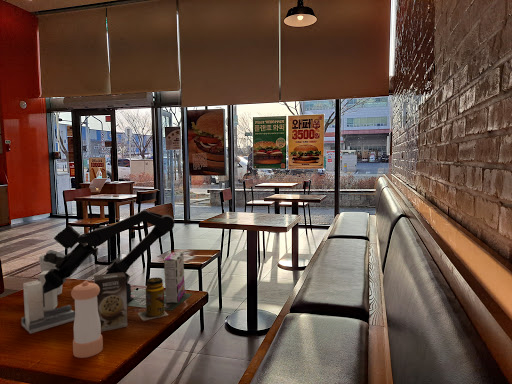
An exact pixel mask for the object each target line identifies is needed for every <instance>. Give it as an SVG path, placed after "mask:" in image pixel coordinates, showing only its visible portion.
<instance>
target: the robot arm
mask: <svg viewBox="0 0 512 384" xmlns="http://www.w3.org/2000/svg"><path fill="white" fill-rule="evenodd" d="M144 222H145V223H148V224H150V225H152V226H153V228H152V229H151V231H150V232H149V233H147V235H145V236H144V238H143V239H141V241H139V242H138V243H137V244H136V246H134V247H133V248H132V249H131V250H130V251H129V252H128V253H127V254H126V255H125V256H124V257H123V258H121V259H119V258H118V257H116V258H115V260H114V262H112V263H110V264H109V265H108V267H107V268H106V272H105V274H111V273H119V272H124V274H125V276H126V295H127V303H129V302H131V301H133V300H134V297H133V296H132V289H131V288H132V285H131V284H130V283H129V281H130V278H131V275H130V274H128V273H127V272H128V271H129V269H130V268H131V266H132V265H133V264H134V263H135V262H136V261H137V260H138V259H139V258H140V257H141V256H142V255H144V253H145V252H146V251H147V250H148V249H149V248H150V247H152V245H153V244H154V243H155V242H156V241H157V240H158V239H160V238H162V237H163V236H165V235H167V234H168V233H169V232H171V231H173V229H174V228H175V227H174V226H175V220H174V217H173V216H172V215H170V214H163V215H162V214H159V213H156V212H153V211H150V210H147V209H143V210H141V211H140V212H139V211H138V212H137V213H135V214H133V215H131V216H129V217H126V218H124V219H122V220H120V221H118V222H115V223H113V224H111V225H105V226H102V227H101V226H100V227H98V228H95V229H93V230H92V231H90V232H86V233H85V232H84V233H80V232H78V231H77V230H76V229H75V228H73V226H72V225H70V224H69V225H67V226H66V227H65V228H64V229H62V230H61V231H60V232H58V233H57V234H56V235H55V236H54V237H53V240H54V241H55V242H57V243H58V244H60V246H62V247H63V248H64V249H65V250H67V249H68V250H69V249H72V250H71V251H69V252H68V253H67V254H65V253H62V252H59V251H56V250H54V249H49V250H47V251H46V253H45V254H44V255H45V256H44V259H43V260H44V261H45V262H50V263H53V264H56V265H55V267H56V268H57V269H51V270H50V271H49V272H48V273H47V274H46V275H45V276H44V277H45V280H46V282H45V284H44V285H43V288H44V294H45V293H47V292H49V291H51V290H54V289H56V288H59V287H60V286H61V285H62V286H63V285H64V283H65V282H67V279H68V278H69V277H72V276H71V275H73V274H74V273H75V272H76V271H77V270H78V268H80V266H81V265H82V264H83V263H84V262H85V261H86V260H87V259H88V258H89V257H90V256H91V255H92V256H93V257H97V256H98V255H99V248H98V247H99V246H101V245H103V244H104V243H106V242H107V241H109V240H110V239H111V238H112V237H114V236H116V235H117V234H120V233H122V232H124V231H127V230H129V229H131V228H133V227H135V226H138V225H140V224H142V223H144ZM76 244H77V245H76ZM75 245H76V246H75ZM73 247H74V248H73Z"/></svg>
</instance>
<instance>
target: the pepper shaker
mask: <svg viewBox="0 0 512 384" xmlns="http://www.w3.org/2000/svg"><path fill="white" fill-rule="evenodd" d="M99 292H100V288H99V286H98V285H97V284H94V282H89V281H87V280H85V281H83V282H82V283H80V284H78V285H75V286H74V287H72V290H71V292H70V295H71V297H72V298H73V300H74V311H75V320H74V321H73V327H72V328H73V329H72V330H73V340H72V352H73V356H74V357H76V358H81V359H83V358H89V357H93V356H96V355H98V354H99V353H100V352H101V351H103V348H104V346H103V345H104V343H103V342H104V339H103V334H101V333H102V331H101V323H100V318H99V314H98V305H97V295H98V294H99Z"/></svg>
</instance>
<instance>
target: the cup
mask: <svg viewBox="0 0 512 384" xmlns="http://www.w3.org/2000/svg"><path fill="white" fill-rule="evenodd" d="M45 255H46V254H43V255H40V256H39V257H38V258H39V265H40V271H41V273H42V272H43V271H50V270H51V269H57V268H56V267H55V265H56V264H53V263H50V262H45V261H44V260H43V259H44V256H45ZM41 273H40V274H41ZM62 293H63V284H62V285H61V286H60V287H59V288H57V296H59V295H61V294H62Z"/></svg>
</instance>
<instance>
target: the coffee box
mask: <svg viewBox="0 0 512 384" xmlns="http://www.w3.org/2000/svg"><path fill="white" fill-rule="evenodd" d="M93 283H94V284H97V285H98V286H99V288H100V292H99V294H98V295H97V305H98V314H99V318H100V323H101V332H105V331H110V330H116V329H121V328H126V327H128V304H127V295H126V276H125V274H124V272H119V273H111V274H106V273H103V274H96V275H93Z"/></svg>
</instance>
